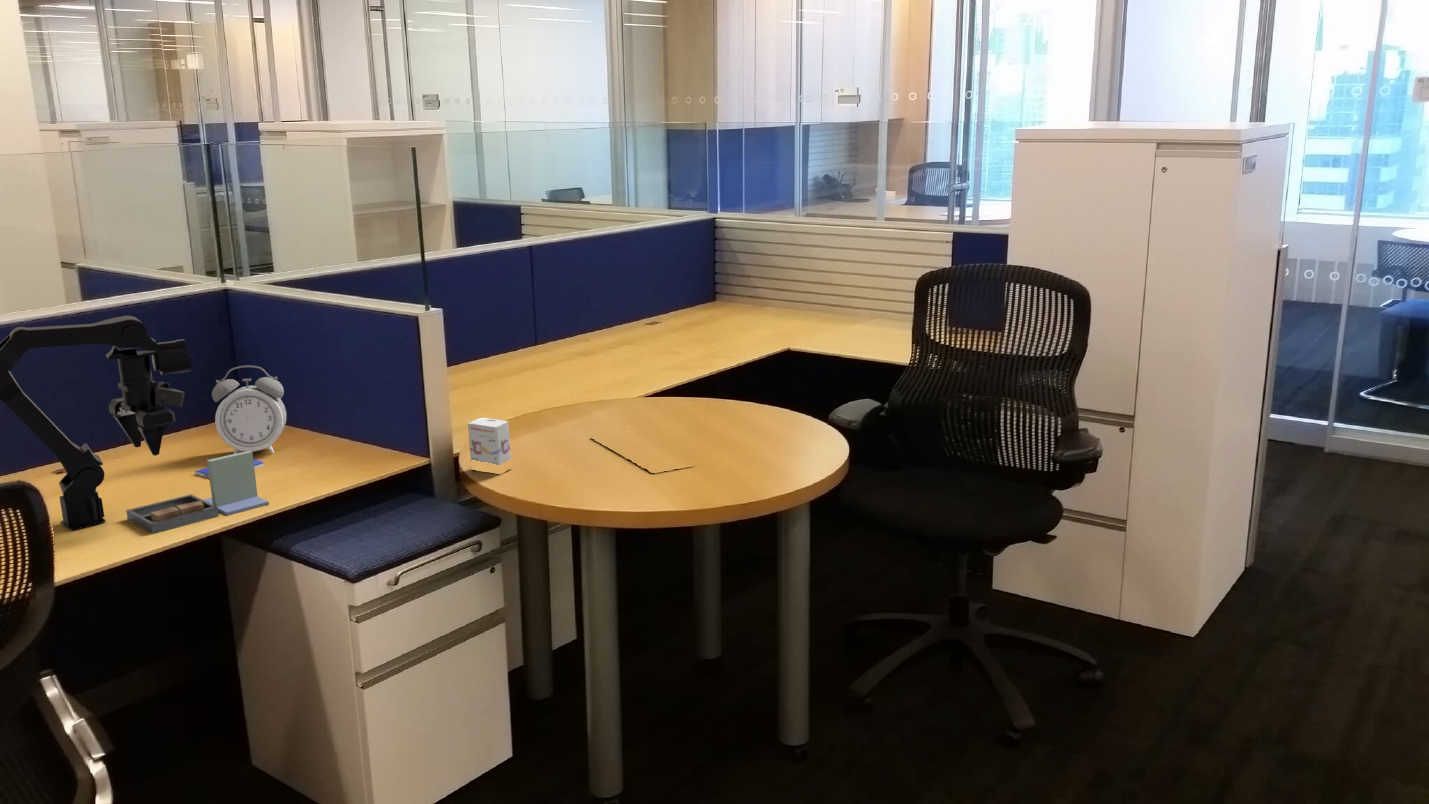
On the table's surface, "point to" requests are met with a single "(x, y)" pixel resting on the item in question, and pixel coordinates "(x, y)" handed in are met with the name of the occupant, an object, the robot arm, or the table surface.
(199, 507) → the offcut
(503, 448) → the ink box
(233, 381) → the alarm clock
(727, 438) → the table surface
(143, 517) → the rack
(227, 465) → the green upright panel
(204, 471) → the hard drive
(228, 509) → the mat
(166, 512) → the offcut
